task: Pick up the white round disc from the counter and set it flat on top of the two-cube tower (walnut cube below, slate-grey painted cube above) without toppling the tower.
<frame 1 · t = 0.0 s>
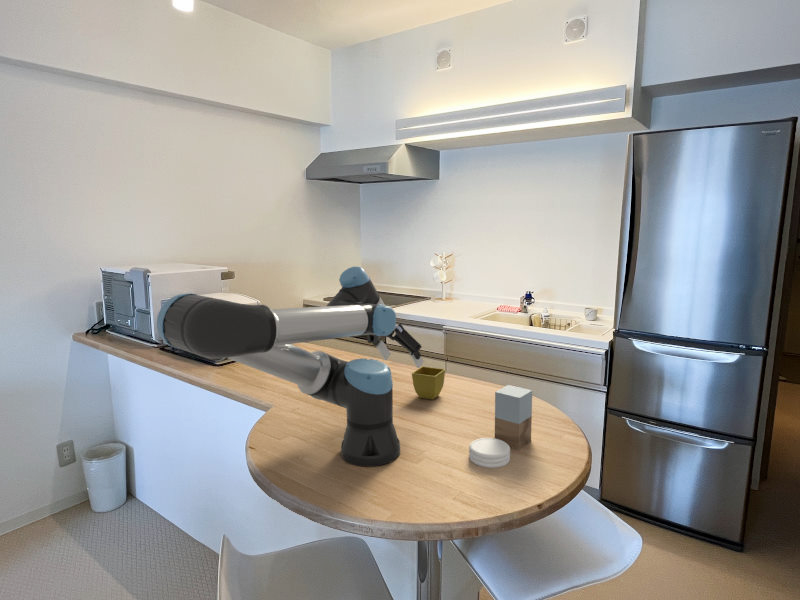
hand: (403, 360, 152), 15 cm above the breakfast bar counter, tool tilted 35°, fingers open, 13 cm apart
block top: (513, 416, 128), point 7 cm above the breakfast bar counter, touching block bottom
flower pot: (428, 397, 163), on the breakfast bar counter
block bottom: (512, 441, 129), on the breakfast bar counter, touching block top
white round disc: (489, 459, 120), on the breakfast bar counter
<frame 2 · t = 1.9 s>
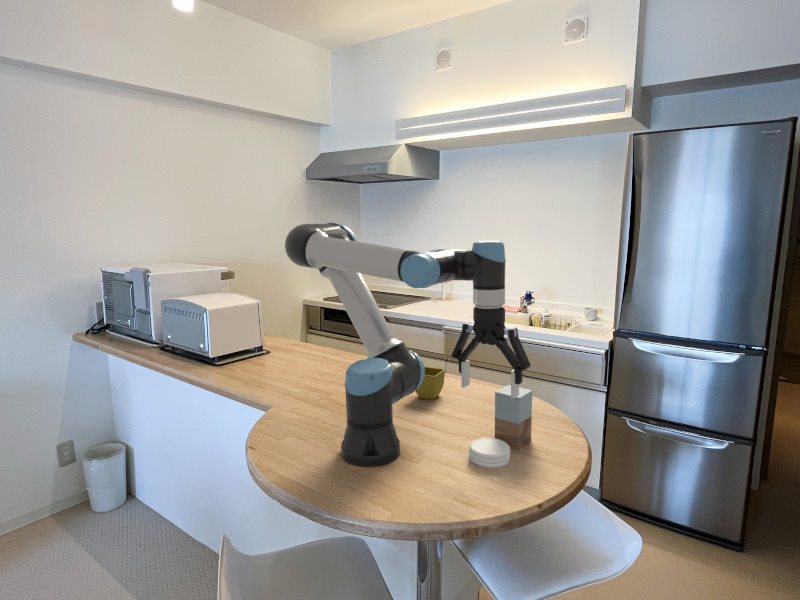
hand: (489, 391, 119), 17 cm above the breakfast bar counter, tool pointing down, fingers open, 13 cm apart
nothing on the breakfast bar counter moved.
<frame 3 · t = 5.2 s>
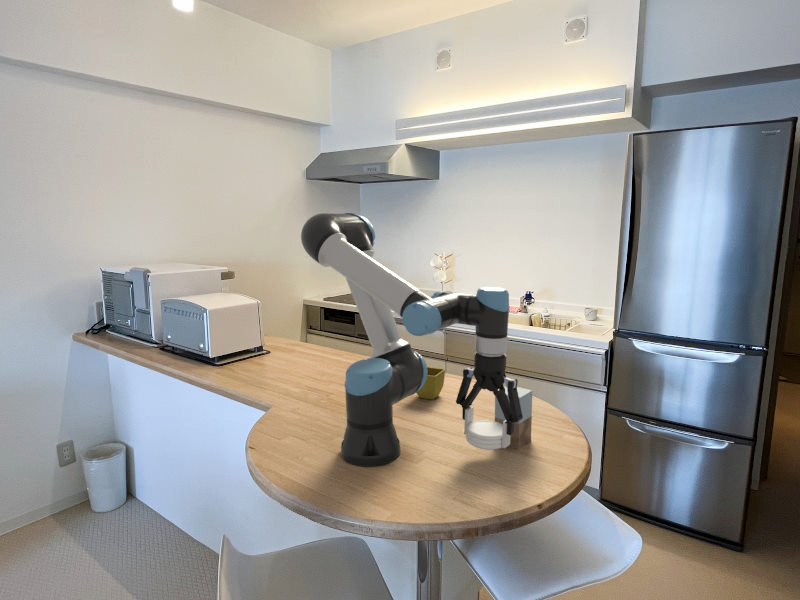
hand: (486, 439, 120), 5 cm above the breakfast bar counter, tool pointing down, fingers closed on white round disc, 10 cm apart
white round disc: (486, 441, 120), point 4 cm above the breakfast bar counter, touching gripper
everything else where it was.
when the fingers open (14 cm above the breakfast bar counter, at t = 8.3 s): white round disc stays where it is, resting on block top.
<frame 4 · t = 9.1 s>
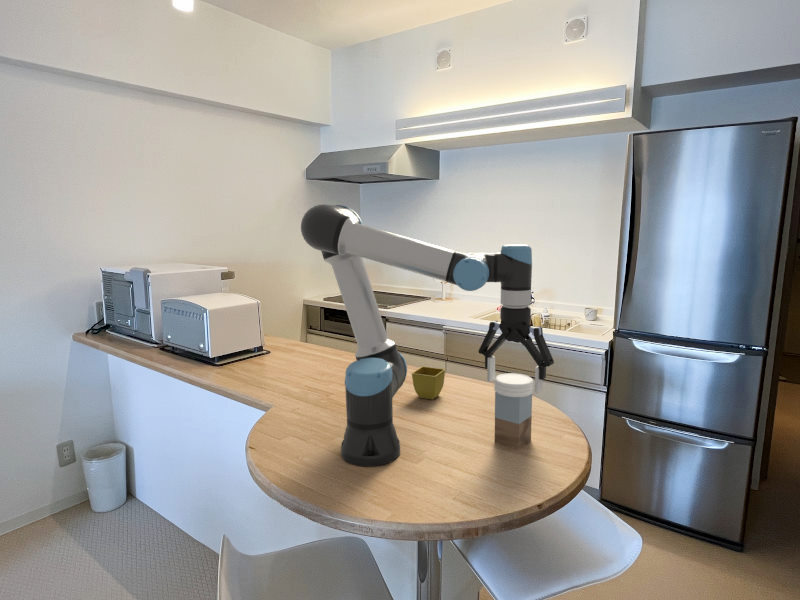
hand: (513, 385, 126), 15 cm above the breakfast bar counter, tool pointing down, fingers open, 13 cm apart
block top: (513, 416, 128), point 7 cm above the breakfast bar counter, touching block bottom, white round disc
white round disc: (513, 392, 127), point 14 cm above the breakfast bar counter, touching block top
everything else where it was.
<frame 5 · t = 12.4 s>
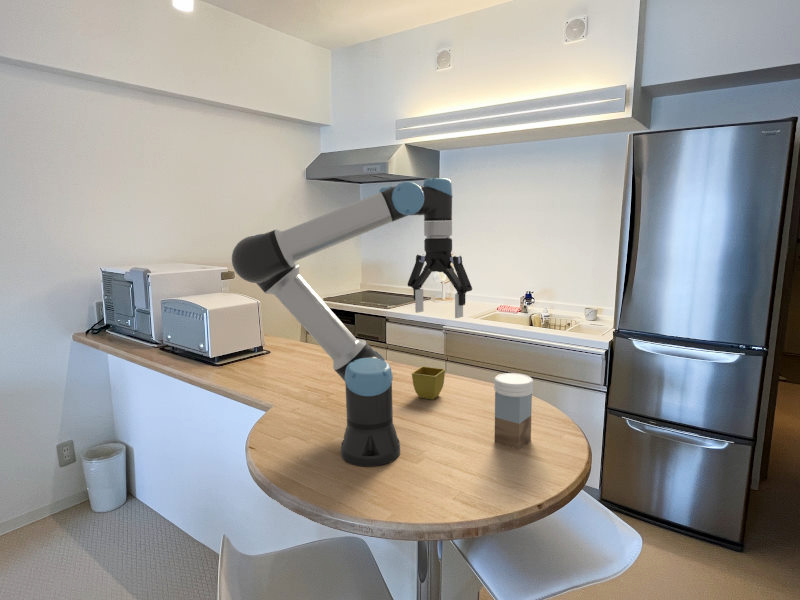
hand: (438, 314, 134), 33 cm above the breakfast bar counter, tool pointing down, fingers open, 13 cm apart
nothing on the breakfast bar counter moved.
at the end: white round disc inside the target area on the block top (0.1 cm from its centre), point 6.8 cm above the block top's base; block top 0.1 cm off-centre on the block bottom, point 7.0 cm above the block bottom's base; block top tilted 0° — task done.
